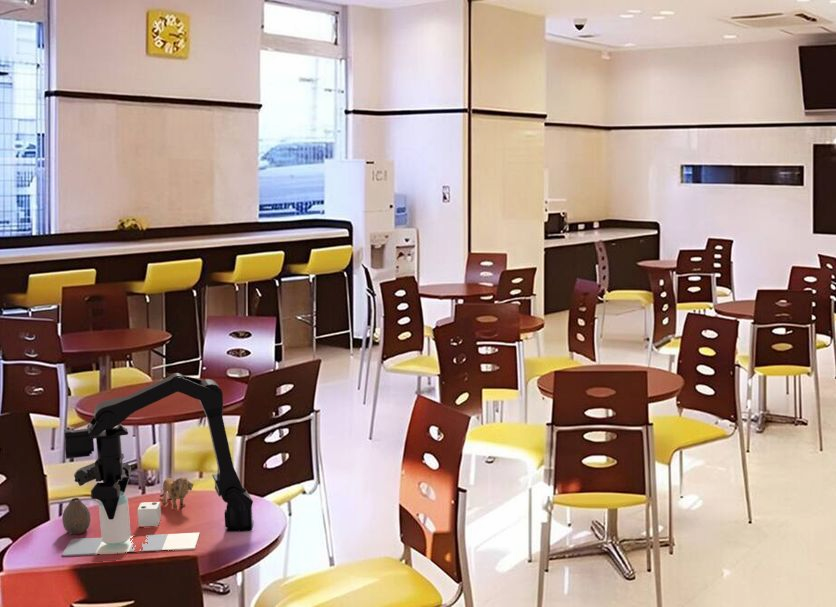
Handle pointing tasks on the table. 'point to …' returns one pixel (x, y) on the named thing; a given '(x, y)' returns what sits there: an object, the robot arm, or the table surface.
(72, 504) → the vase
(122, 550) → the board
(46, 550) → the table surface
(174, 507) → the lion figurine
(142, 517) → the die
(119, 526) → the can
